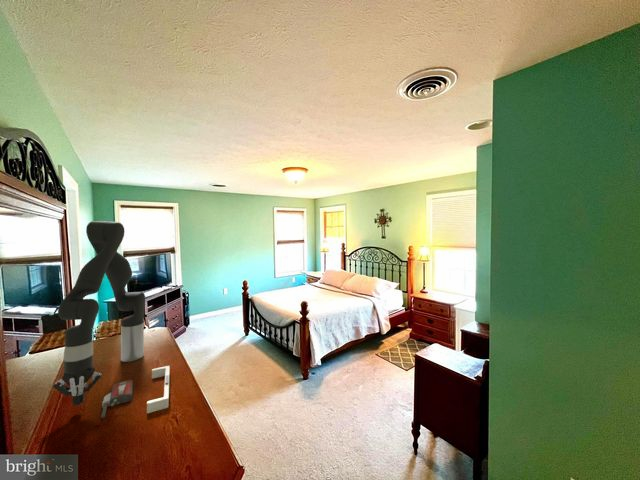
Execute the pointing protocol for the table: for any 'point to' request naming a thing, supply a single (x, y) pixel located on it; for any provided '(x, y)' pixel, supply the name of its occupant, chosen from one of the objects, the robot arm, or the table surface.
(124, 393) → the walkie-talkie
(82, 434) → the table surface
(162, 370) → the white c-shaped bracket
